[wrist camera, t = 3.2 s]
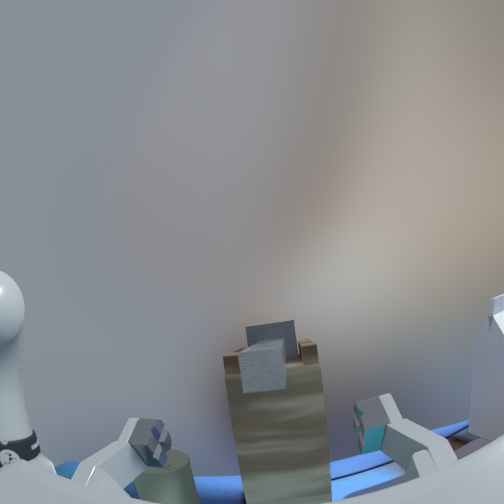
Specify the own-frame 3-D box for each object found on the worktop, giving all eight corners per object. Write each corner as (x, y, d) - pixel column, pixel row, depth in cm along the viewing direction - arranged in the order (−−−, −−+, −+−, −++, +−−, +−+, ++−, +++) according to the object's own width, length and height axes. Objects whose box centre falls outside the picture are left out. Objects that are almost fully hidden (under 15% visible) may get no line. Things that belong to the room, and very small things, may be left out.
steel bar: (307, 385, 18) (298, 316, 20) (222, 394, 19) (213, 327, 20) (297, 354, 39) (292, 320, 41) (255, 360, 40) (251, 326, 41)
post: (332, 533, 21) (317, 344, 28) (254, 540, 22) (222, 356, 29) (324, 491, 33) (308, 339, 40) (262, 498, 33) (240, 348, 41)
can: (165, 538, 22) (142, 475, 25) (136, 512, 28) (117, 453, 31) (216, 518, 28) (202, 457, 31) (183, 497, 34) (169, 442, 37)
